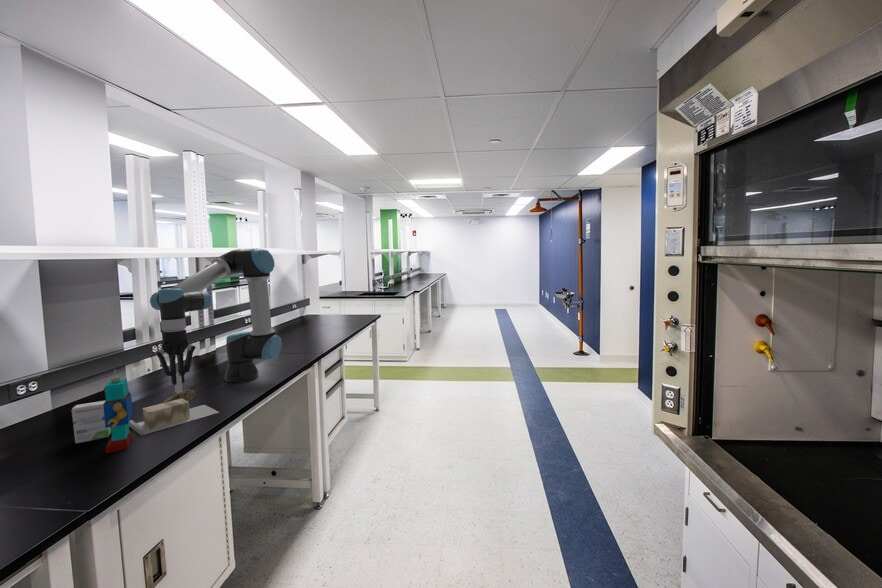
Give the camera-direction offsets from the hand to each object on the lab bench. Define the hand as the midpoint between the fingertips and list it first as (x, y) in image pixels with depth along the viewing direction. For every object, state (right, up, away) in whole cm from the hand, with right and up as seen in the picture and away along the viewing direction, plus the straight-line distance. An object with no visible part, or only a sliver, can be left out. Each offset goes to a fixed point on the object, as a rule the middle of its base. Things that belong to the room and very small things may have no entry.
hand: (178, 392), depth 147 cm
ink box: (-19, -12, -15) cm, 27 cm away
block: (+1, -7, +2) cm, 7 cm away
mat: (-1, -10, 0) cm, 10 cm away
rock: (-12, -9, +18) cm, 23 cm away
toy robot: (-5, -12, -21) cm, 25 cm away
